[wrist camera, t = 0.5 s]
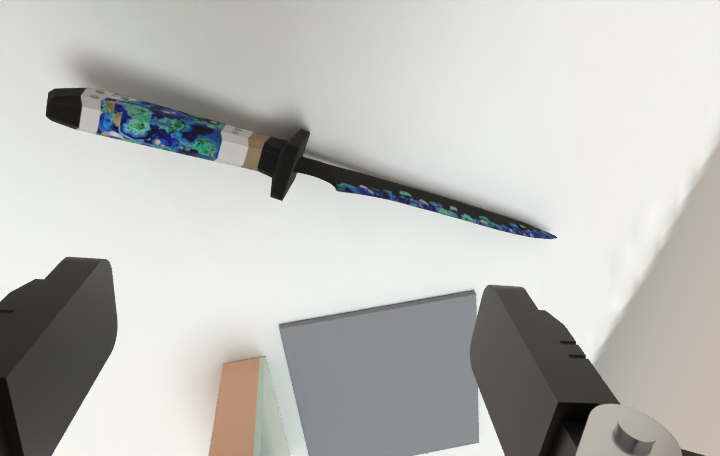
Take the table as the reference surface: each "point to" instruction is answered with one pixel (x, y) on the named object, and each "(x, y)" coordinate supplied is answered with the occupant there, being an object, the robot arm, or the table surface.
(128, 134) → the knife
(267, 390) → the tile
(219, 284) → the table surface
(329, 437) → the slate mat
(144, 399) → the table surface
